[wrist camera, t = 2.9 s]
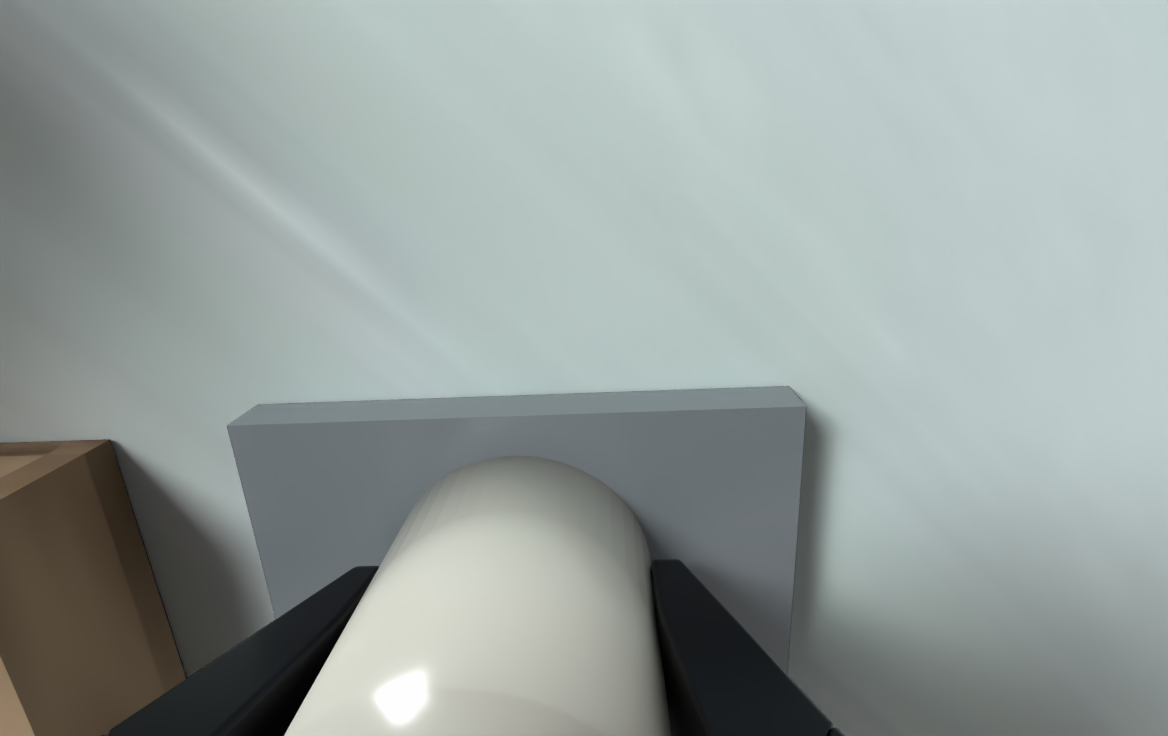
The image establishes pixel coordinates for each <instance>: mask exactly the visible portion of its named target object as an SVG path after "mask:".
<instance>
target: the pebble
mask: <svg viewBox="0 0 1168 736" xmlns="http://www.w3.org/2000/svg"><path fill="white" fill-rule="evenodd" d="M284 736H671V728H670V720H669V712H668V703H667V695H666V686H665V678H664V669H663V661H662V654H661V648H660V642H659V634H658V626H657V618H656V609H655V601H654V592H653V584H652V575H651V560H650V552H649V548H648V544H647V540H646V537H645V535H644V533H643V530H642V528H641V526H640V524H639V522H638V520H637V519H636V517H635V515H634V514H633V512H632V511H631V510H630V508H629V507H628V506H627V505H626V503H625V502H624V501H623V500H622V499H621V498H620V497H619V496H618V495H617V494H616V493H615V492H614V491H613V490H612V489H611V488H609V487H608V486H607V485H605V484H604V483H603V482H601V481H600V480H598V479H597V478H595V477H594V476H592V475H590V474H588V473H586V472H585V471H583V470H581V469H578V468H576V467H573V466H571V465H568V464H566V463H562V462H559V461H555V460H551V459H547V458H540V457H533V456H504V457H494V458H490V459H485V460H480V461H477V462H474V463H471V464H469V465H466V466H463V467H461V468H459V469H457V470H455V471H453V472H451V473H449V474H447V475H446V476H445V477H443V478H442V479H440V480H439V481H437V482H436V483H435V484H433V485H432V486H431V487H430V488H429V489H428V490H427V491H426V492H425V493H424V494H423V495H422V496H421V498H420V499H419V500H418V501H417V502H416V504H415V505H414V507H413V508H412V510H411V512H410V514H409V515H408V517H407V519H406V520H405V522H404V524H403V526H402V528H401V529H400V531H399V533H398V535H397V536H396V538H395V540H394V542H393V543H392V545H391V547H390V549H389V551H388V552H387V554H386V556H385V558H384V559H383V561H382V563H381V565H380V566H379V568H378V570H377V572H376V574H375V575H374V577H373V579H372V581H371V582H370V584H369V586H368V588H367V590H366V591H365V593H364V595H363V597H362V598H361V600H360V602H359V604H358V605H357V607H356V609H355V611H354V613H353V614H352V616H351V618H350V620H349V621H348V623H347V625H346V627H345V628H344V630H343V632H342V634H341V636H340V637H339V639H338V641H337V643H336V644H335V646H334V648H333V650H332V651H331V653H330V655H329V657H328V659H327V660H326V662H325V664H324V666H323V667H322V669H321V671H320V673H319V675H318V676H317V678H316V680H315V682H314V683H313V685H312V687H311V689H310V690H309V692H308V694H307V696H306V698H305V699H304V701H303V703H302V705H301V706H300V708H299V710H298V712H297V713H296V715H295V717H294V719H293V721H292V722H291V724H290V726H289V728H288V729H287V731H286V733H285V735H284Z"/></svg>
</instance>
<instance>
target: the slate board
mask: <svg viewBox="0 0 1168 736" xmlns="http://www.w3.org/2000/svg"><path fill="white" fill-rule="evenodd" d="M805 416H806V406H805V404H804V403H803V402H802V401H801V400H800V399H799V397H798V396H797V395H796V394H795V393H794V391H793V390H792V389H791V388H790V387H789V386H775V387H746V388H718V389H689V390H660V391H632V392H603V393H574V394H546V395H517V396H488V397H460V398H431V399H402V400H374V401H345V402H316V403H288V404H259V405H256V406H255V407H253V408H252V409H250V410H249V411H248V412H246V413H245V414H243V415H242V416H240V417H239V418H237V419H236V420H234V421H233V422H231V423H230V424H228V425H227V429H228V433H229V437H230V441H231V444H232V448H233V452H234V456H235V460H236V464H237V468H238V472H239V476H240V480H241V484H242V488H243V492H244V496H245V500H246V504H247V508H248V512H249V516H250V520H251V524H252V528H253V532H254V535H255V539H256V543H257V547H258V551H259V555H260V559H261V563H262V567H263V571H264V575H265V579H266V583H267V587H268V591H269V595H270V599H271V603H272V607H273V611H274V615H275V619H277V618H279V617H280V616H282V615H283V614H285V613H286V612H288V611H289V610H291V609H292V608H294V607H295V606H297V605H298V604H300V603H301V602H303V601H304V600H306V599H307V598H309V597H310V596H312V595H313V594H315V593H316V592H318V591H319V590H321V589H322V588H324V587H325V586H327V585H328V584H330V583H331V582H333V581H334V580H336V579H337V578H339V577H340V576H342V575H343V574H345V573H346V572H348V571H349V570H351V569H352V568H354V567H357V566H380V565H381V563H382V561H383V559H384V558H385V556H386V554H387V552H388V551H389V549H390V547H391V545H392V543H393V542H394V540H395V538H396V536H397V535H398V533H399V531H400V529H401V528H402V526H403V524H404V522H405V520H406V519H407V517H408V515H409V514H410V512H411V510H412V508H413V507H414V505H415V504H416V502H417V501H418V500H419V499H420V498H421V496H422V495H423V494H424V493H425V492H426V491H427V490H428V489H429V488H430V487H431V486H432V485H433V484H435V483H436V482H437V481H439V480H440V479H442V478H443V477H445V476H446V475H447V474H449V473H451V472H453V471H455V470H457V469H459V468H461V467H463V466H466V465H469V464H471V463H474V462H477V461H480V460H485V459H490V458H494V457H504V456H533V457H540V458H547V459H551V460H555V461H559V462H562V463H566V464H568V465H571V466H573V467H576V468H578V469H581V470H583V471H585V472H586V473H588V474H590V475H592V476H594V477H595V478H597V479H598V480H600V481H601V482H603V483H604V484H605V485H607V486H608V487H609V488H611V489H612V490H613V491H614V492H615V493H616V494H617V495H618V496H619V497H620V498H621V499H622V500H623V501H624V502H625V503H626V505H627V506H628V507H629V508H630V510H631V511H632V512H633V514H634V515H635V517H636V519H637V520H638V522H639V524H640V526H641V528H642V530H643V533H644V535H645V537H646V540H647V544H648V548H649V552H650V560H651V563H652V561H653V560H659V559H679V560H681V561H682V562H683V563H684V564H685V565H686V566H687V567H688V568H689V569H690V570H691V572H692V573H693V574H694V575H695V576H696V577H697V578H698V579H699V580H700V581H701V582H702V583H703V584H704V586H705V587H706V588H707V589H708V590H709V591H710V592H711V593H712V594H713V595H714V596H715V597H716V598H717V599H718V601H719V602H720V603H721V604H722V605H723V606H724V607H725V608H726V609H727V610H728V611H729V612H730V613H731V615H732V616H733V617H734V618H735V619H736V620H737V621H738V622H739V623H740V624H741V625H742V626H743V627H744V628H745V630H746V631H747V632H748V633H749V634H750V635H751V636H752V637H753V638H754V639H755V640H756V641H757V642H758V643H759V645H760V646H761V647H762V648H763V649H764V650H765V651H766V652H767V653H768V654H769V655H770V656H771V657H772V659H773V660H774V661H775V662H776V663H777V664H778V665H779V666H780V667H781V668H782V669H783V670H784V671H785V672H786V674H787V672H788V658H789V644H790V630H791V615H792V601H793V587H794V573H795V558H796V544H797V530H798V516H799V501H800V487H801V473H802V459H803V444H804V430H805Z"/></svg>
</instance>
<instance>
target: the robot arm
mask: <svg viewBox="0 0 1168 736" xmlns="http://www.w3.org/2000/svg"><path fill="white" fill-rule="evenodd" d="M378 568H379V566H357V567H354V568H352V569H351V570H349V571H348V572H346V573H345V574H343V575H342V576H340V577H339V578H337V579H336V580H334V581H333V582H331V583H330V584H328V585H327V586H325V587H324V588H322V589H321V590H319V591H318V592H316V593H315V594H313V595H312V596H310V597H309V598H307V599H306V600H304V601H303V602H301V603H300V604H298V605H297V606H295V607H294V608H292V609H291V610H289V611H288V612H286V613H285V614H283V615H282V616H280V617H279V618H277V619H276V620H274V621H273V622H271V623H270V624H268V625H267V626H265V627H263V628H262V629H260V630H259V631H257V632H256V633H254V634H253V635H251V636H250V637H248V638H247V639H245V640H244V641H242V642H241V643H239V644H238V645H236V646H235V647H233V648H232V649H230V650H229V651H227V652H226V653H224V654H223V655H221V656H220V657H218V658H217V659H215V660H214V661H212V662H211V663H209V664H208V665H206V666H205V667H203V668H202V669H200V670H199V671H197V672H196V673H194V674H193V675H191V676H190V677H188V678H187V679H185V680H184V681H182V682H181V683H179V684H178V685H176V686H175V687H173V688H172V689H170V690H169V691H167V692H166V693H164V694H163V695H161V696H160V697H158V698H157V699H155V700H154V701H152V702H151V703H149V704H148V705H146V706H145V707H143V708H142V709H140V710H139V711H137V712H136V713H134V714H133V715H131V716H130V717H128V718H127V719H125V720H124V721H122V722H121V723H119V724H118V725H116V726H115V727H113V728H112V729H111V730H110V731H109V733H108V735H106V734H103V735H101V736H284V735H285V733H286V731H287V729H288V728H289V726H290V724H291V722H292V721H293V719H294V717H295V715H296V713H297V712H298V710H299V708H300V706H301V705H302V703H303V701H304V699H305V698H306V696H307V694H308V692H309V690H310V689H311V687H312V685H313V683H314V682H315V680H316V678H317V676H318V675H319V673H320V671H321V669H322V667H323V666H324V664H325V662H326V660H327V659H328V657H329V655H330V653H331V651H332V650H333V648H334V646H335V644H336V643H337V641H338V639H339V637H340V636H341V634H342V632H343V630H344V628H345V627H346V625H347V623H348V621H349V620H350V618H351V616H352V614H353V613H354V611H355V609H356V607H357V605H358V604H359V602H360V600H361V598H362V597H363V595H364V593H365V591H366V590H367V588H368V586H369V584H370V582H371V581H372V579H373V577H374V575H375V574H376V572H377V570H378ZM651 575H652V584H653V592H654V601H655V609H656V618H657V626H658V634H659V642H660V648H661V654H662V661H663V669H664V678H665V686H666V695H667V703H668V712H669V720H670V728H671V736H845V735H844V734H843V733H842V732H841V731H840V730H839V729H838V728H833V724H832V722H831V721H830V720H829V719H828V718H827V717H826V715H825V714H824V713H823V712H822V711H821V710H820V709H819V708H818V707H817V706H816V705H815V704H814V703H813V701H812V700H811V699H810V698H809V697H808V696H807V695H806V694H805V693H804V692H803V691H802V690H801V689H800V688H799V686H798V685H797V684H796V683H795V682H794V681H793V680H792V679H791V678H790V677H789V676H788V675H787V674H786V672H785V671H784V670H783V669H782V668H781V667H780V666H779V665H778V664H777V663H776V662H775V661H774V660H773V659H772V657H771V656H770V655H769V654H768V653H767V652H766V651H765V650H764V649H763V648H762V647H761V646H760V645H759V643H758V642H757V641H756V640H755V639H754V638H753V637H752V636H751V635H750V634H749V633H748V632H747V631H746V630H745V628H744V627H743V626H742V625H741V624H740V623H739V622H738V621H737V620H736V619H735V618H734V617H733V616H732V615H731V613H730V612H729V611H728V610H727V609H726V608H725V607H724V606H723V605H722V604H721V603H720V602H719V601H718V599H717V598H716V597H715V596H714V595H713V594H712V593H711V592H710V591H709V590H708V589H707V588H706V587H705V586H704V584H703V583H702V582H701V581H700V580H699V579H698V578H697V577H696V576H695V575H694V574H693V573H692V572H691V570H690V569H689V568H688V567H687V566H686V565H685V564H684V563H683V562H682V561H681V560H679V559H659V560H653V561H652V563H651Z"/></svg>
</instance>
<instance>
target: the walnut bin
mask: <svg viewBox="0 0 1168 736" xmlns="http://www.w3.org/2000/svg"><path fill="white" fill-rule="evenodd" d="M185 679H186V676H185V673H184V670H183V667H182V664H181V661H180V657H179V654H178V651H177V648H176V645H175V642H174V639H173V636H172V632H171V629H170V626H169V623H168V620H167V617H166V614H165V611H164V608H163V604H162V601H161V598H160V595H159V592H158V589H157V586H156V583H155V579H154V576H153V573H152V570H151V567H150V564H149V561H148V558H147V555H146V551H145V548H144V545H143V542H142V539H141V536H140V533H139V530H138V526H137V523H136V520H135V517H134V514H133V511H132V508H131V505H130V502H129V498H128V495H127V492H126V489H125V486H124V483H123V480H122V477H121V473H120V470H119V467H118V464H117V461H116V458H115V455H114V452H113V449H112V445H111V442H110V440H81V441H50V442H20V443H0V736H101V735H103V734H106V735H108V733H109V731H110V730H111V729H112V728H113V727H115V726H116V725H118V724H119V723H121V722H122V721H124V720H125V719H127V718H128V717H130V716H131V715H133V714H134V713H136V712H137V711H139V710H140V709H142V708H143V707H145V706H146V705H148V704H149V703H151V702H152V701H154V700H155V699H157V698H158V697H160V696H161V695H163V694H164V693H166V692H167V691H169V690H170V689H172V688H173V687H175V686H176V685H178V684H179V683H181V682H182V681H184V680H185Z"/></svg>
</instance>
